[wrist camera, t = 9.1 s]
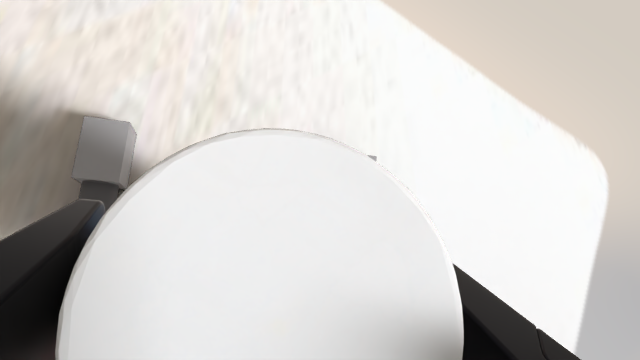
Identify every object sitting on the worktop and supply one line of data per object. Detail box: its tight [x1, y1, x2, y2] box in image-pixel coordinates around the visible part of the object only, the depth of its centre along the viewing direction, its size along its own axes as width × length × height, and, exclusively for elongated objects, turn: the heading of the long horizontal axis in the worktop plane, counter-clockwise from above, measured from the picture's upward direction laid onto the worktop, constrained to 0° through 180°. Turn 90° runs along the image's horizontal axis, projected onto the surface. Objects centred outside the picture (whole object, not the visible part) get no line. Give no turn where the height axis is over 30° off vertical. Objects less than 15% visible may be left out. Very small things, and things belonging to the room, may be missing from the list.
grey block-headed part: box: [71, 116, 137, 213], centre depth 18 cm, size 14×2×2 cm, turn 177°
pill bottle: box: [55, 128, 464, 360], centre depth 10 cm, size 6×6×11 cm
